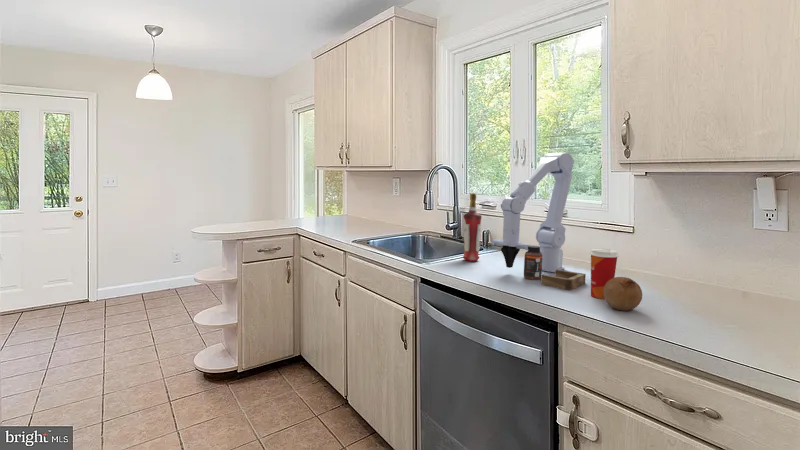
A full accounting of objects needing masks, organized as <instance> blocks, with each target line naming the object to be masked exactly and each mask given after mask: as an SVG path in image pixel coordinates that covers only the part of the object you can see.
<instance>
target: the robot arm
mask: <svg viewBox="0 0 800 450" xmlns="http://www.w3.org/2000/svg"><path fill="white" fill-rule="evenodd" d="M574 164H575V160H574V158H573V156H572V155H571V153H570V152H567V151H565V152H554V153H553V152H552V153H551V152H548V153H546V154H544V156H543V157H542V158H540V162H539V164H538V166H537V167H536V168H535V170H534V171H533V172H532V173H531V175H530V176H529V178H527V180H523V181H519V182H518V184H517V185H518V186H517V187H516V188H515V189H514V190H513V191H512V192H511V193H510V195H509V196H505V197H504V198H503V200H502V202H501V204H500V209H501V210H502V216H503V224H502V225H503V227H502V239H492V240H491V246H497V247H502V248H500V251H501V253H502V255H503V258H504V261H505V266H506V268H513V266H514V263H515V259H516V257H517V256H518V254H519V252H520V250H525V251H528V246H532V245H531V244H530V243H525V242H521V241H520V229H521V228H520V226H521V225H520V224H521V213H522V212H523V211H524V210H525V207H526V206H525V205H526V203H527V201H528V200H529V199H530V198H531V196H533V194H534V193H535V191H536V186H537V185H538V184H539V183H540V182H541V181H542V180H543V179H544V178H545V177H546V176H547V175H548V174H550V175H551V176H552V177H553V178H554V180H555V181H554V185H553V188H552V192H551V196H550V202H549V205H548V209H547V210H548V211H547V214H546V218H545V220H544V221H542V222H541V223H540V225H539V228H538V229H537V231H536V232H535V233H536V234H535V239H536V242H537V243H538V246H540V252H541V253H542V271H544V272H549V273H556V270H557V269H559V270H564V269H565V266H563V260H564V259H563V258H564V253H563V249H562V246H564V244H565V241H566V234H565V233H566V227H565V226H564V225H563V224H562V221H563V216H564V212H565V208H566V203H567V199H568V195H569V191H570V186H571V182H572V179H573V171H572V170H573V167H574Z"/></svg>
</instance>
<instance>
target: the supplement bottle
mask: <svg viewBox="0 0 800 450" xmlns="http://www.w3.org/2000/svg"><path fill="white" fill-rule="evenodd" d="M523 259H524V263H523V278H525V279H527V280H535V281H536V280H542V275H543V274H542V273H543V272H542V271H543V270H542V253H541V252H540V245H531V246H528V250H526V251H525V253H524V258H523Z"/></svg>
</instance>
